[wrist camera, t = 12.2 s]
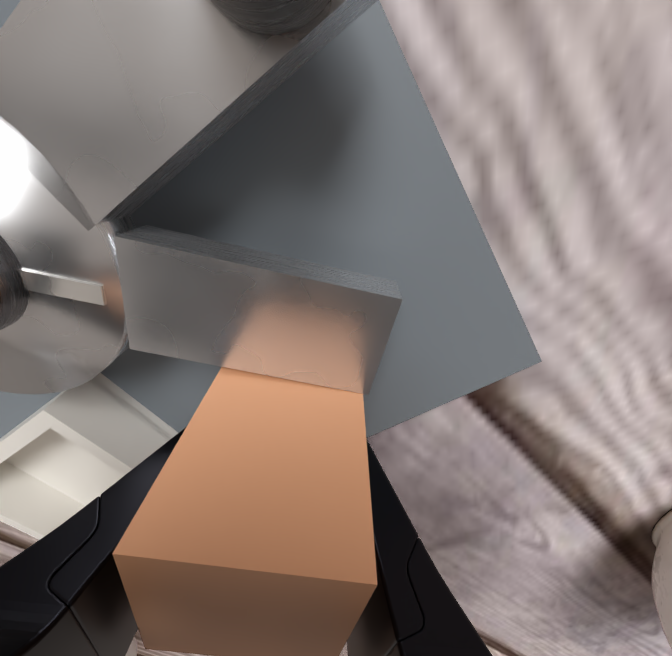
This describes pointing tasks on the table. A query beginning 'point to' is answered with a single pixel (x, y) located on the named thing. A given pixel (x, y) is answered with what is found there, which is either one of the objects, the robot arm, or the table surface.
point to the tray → (73, 454)
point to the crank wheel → (143, 182)
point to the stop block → (256, 525)
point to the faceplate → (341, 229)
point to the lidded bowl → (663, 573)
